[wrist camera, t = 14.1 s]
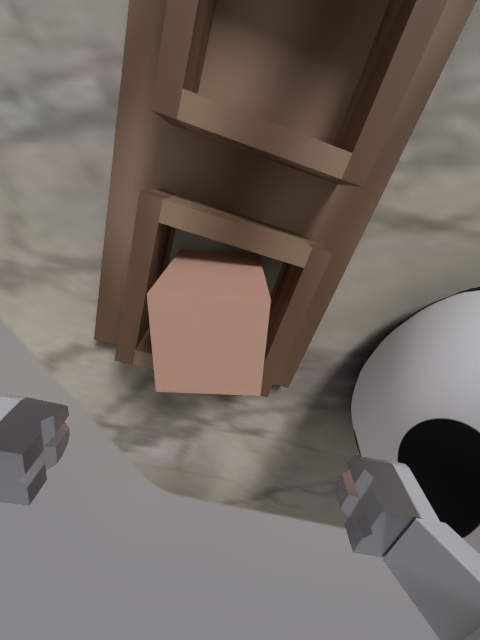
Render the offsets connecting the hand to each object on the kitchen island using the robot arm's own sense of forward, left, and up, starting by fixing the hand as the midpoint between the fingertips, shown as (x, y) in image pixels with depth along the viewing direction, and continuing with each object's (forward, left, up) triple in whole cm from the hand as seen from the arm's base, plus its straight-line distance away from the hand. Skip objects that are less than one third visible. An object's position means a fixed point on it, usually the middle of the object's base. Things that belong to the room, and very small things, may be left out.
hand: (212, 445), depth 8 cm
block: (+1, -1, -11) cm, 11 cm away
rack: (+1, -7, -12) cm, 14 cm away
